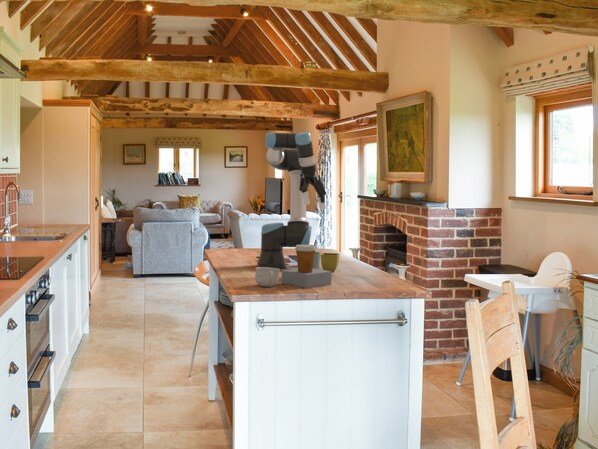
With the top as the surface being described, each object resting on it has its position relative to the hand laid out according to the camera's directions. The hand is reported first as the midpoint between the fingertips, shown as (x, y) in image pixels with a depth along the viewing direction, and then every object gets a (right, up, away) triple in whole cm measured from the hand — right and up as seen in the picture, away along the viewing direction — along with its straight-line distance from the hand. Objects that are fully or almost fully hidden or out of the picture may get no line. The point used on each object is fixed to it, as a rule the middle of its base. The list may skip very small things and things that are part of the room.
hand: (315, 206), depth 320 cm
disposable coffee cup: (-5, -30, -25) cm, 39 cm away
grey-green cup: (-3, -35, -1) cm, 35 cm away
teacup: (-22, -36, -30) cm, 52 cm away
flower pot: (+8, -33, +20) cm, 39 cm away
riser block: (-4, -36, -21) cm, 41 cm away
